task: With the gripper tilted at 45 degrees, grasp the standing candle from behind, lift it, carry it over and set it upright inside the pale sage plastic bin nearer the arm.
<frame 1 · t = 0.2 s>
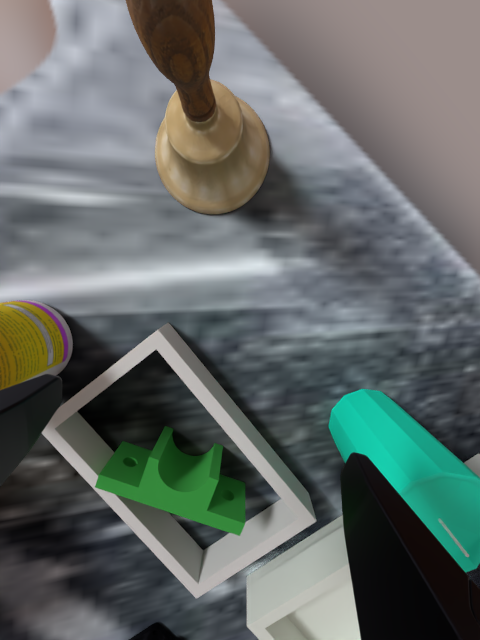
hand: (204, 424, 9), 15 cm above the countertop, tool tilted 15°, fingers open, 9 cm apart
bin: (338, 587, 28), on the countertop
pipe clamp: (188, 453, 27), on the countertop
hand bell: (212, 156, 23), on the countertop
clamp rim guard: (186, 451, 26), on the countertop
candle: (363, 421, 26), on the countertop
supplement bottle: (37, 339, 25), on the countertop
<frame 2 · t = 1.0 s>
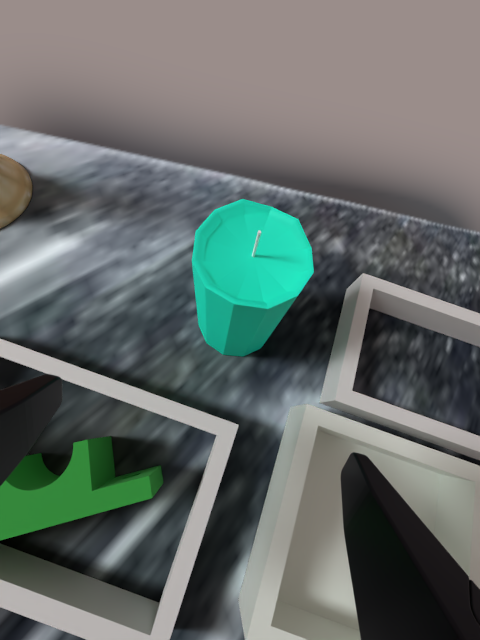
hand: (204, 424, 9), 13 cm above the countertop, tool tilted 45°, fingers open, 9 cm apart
bin: (350, 524, 21), on the countertop
pipe clamp: (76, 476, 20), on the countertop
grey rectangular frame: (440, 380, 25), on the countertop
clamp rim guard: (68, 466, 20), on the countertop
candle: (235, 320, 25), on the countertop
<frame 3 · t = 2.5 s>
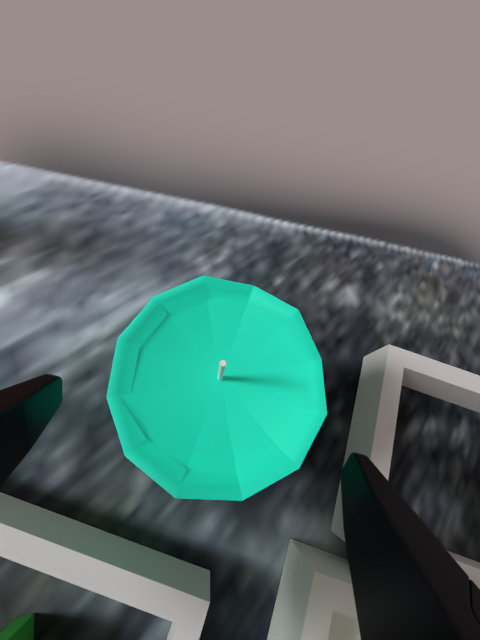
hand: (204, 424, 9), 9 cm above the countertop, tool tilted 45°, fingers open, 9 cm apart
candle: (214, 406, 18), on the countertop
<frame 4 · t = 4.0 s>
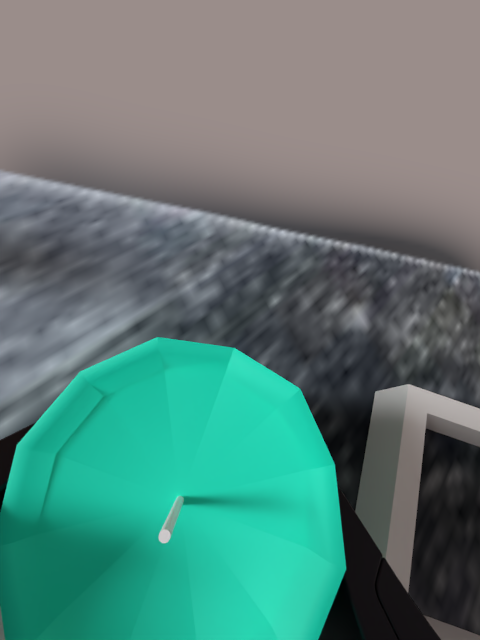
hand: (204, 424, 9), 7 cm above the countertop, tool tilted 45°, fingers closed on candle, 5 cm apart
candle: (198, 455, 15), on the countertop, touching gripper
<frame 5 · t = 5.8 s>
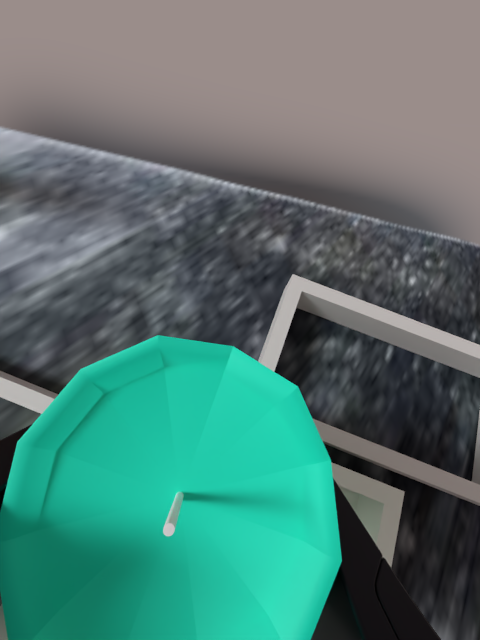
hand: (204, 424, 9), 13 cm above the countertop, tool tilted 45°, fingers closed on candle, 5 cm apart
bin: (260, 541, 19), on the countertop
grey rectangular frame: (375, 390, 23), on the countertop
candle: (193, 452, 15), point 6 cm above the countertop, touching gripper
when the fingers open (9 cm above the countertop, at t = 7.7 s): candle drops 1 cm, resting on bin.
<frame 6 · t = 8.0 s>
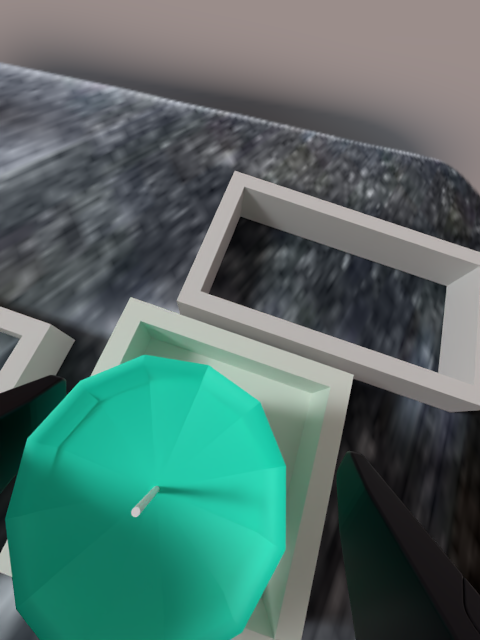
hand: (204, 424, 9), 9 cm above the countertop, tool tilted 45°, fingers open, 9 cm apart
bin: (201, 451, 17), on the countertop
grey rectangular frame: (331, 297, 21), on the countertop
candle: (187, 453, 16), point 1 cm above the countertop, touching bin
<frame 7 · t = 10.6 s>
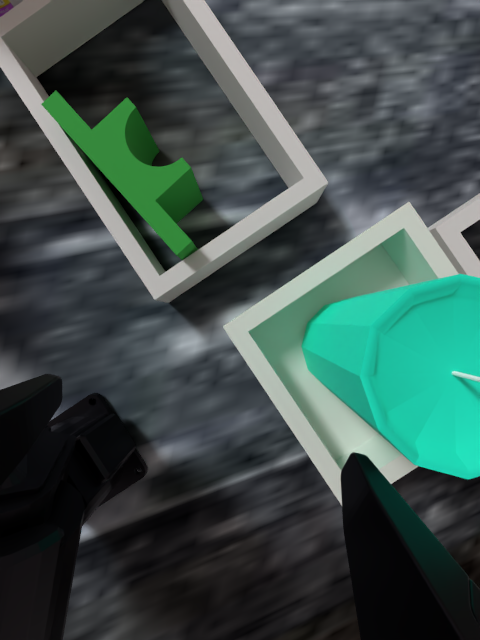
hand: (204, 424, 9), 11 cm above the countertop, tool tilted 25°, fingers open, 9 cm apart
bin: (352, 350, 20), on the countertop
pipe clamp: (158, 194, 21), on the countertop
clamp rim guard: (164, 137, 21), on the countertop
candle: (347, 345, 20), point 1 cm above the countertop, touching bin
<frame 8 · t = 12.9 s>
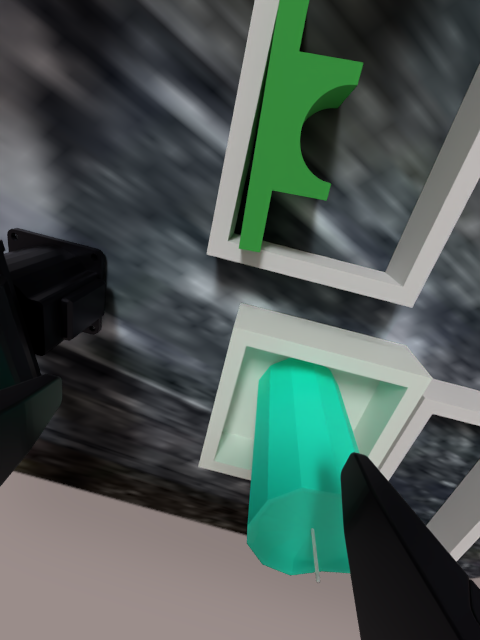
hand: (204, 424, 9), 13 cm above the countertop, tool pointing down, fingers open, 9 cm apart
bin: (297, 390, 24), on the countertop
pipe clamp: (291, 143, 18), on the countertop, touching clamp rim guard
grey rectangular frame: (415, 471, 26), on the countertop
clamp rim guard: (362, 95, 16), on the countertop
candle: (297, 390, 23), point 1 cm above the countertop, touching bin
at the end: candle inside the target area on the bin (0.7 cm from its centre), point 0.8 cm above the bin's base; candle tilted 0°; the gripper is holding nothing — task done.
